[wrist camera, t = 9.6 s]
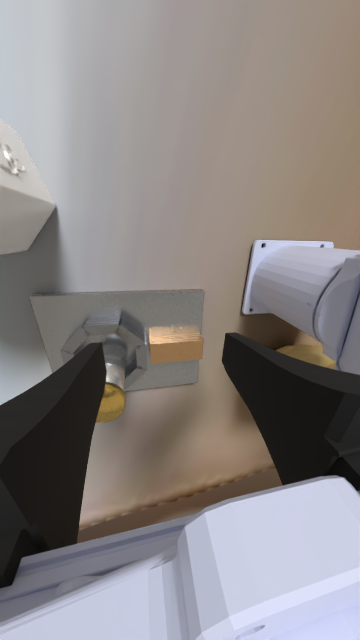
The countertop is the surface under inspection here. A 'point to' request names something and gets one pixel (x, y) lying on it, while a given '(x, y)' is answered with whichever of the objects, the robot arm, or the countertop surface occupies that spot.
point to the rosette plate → (135, 310)
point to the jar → (20, 195)
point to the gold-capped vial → (113, 383)
